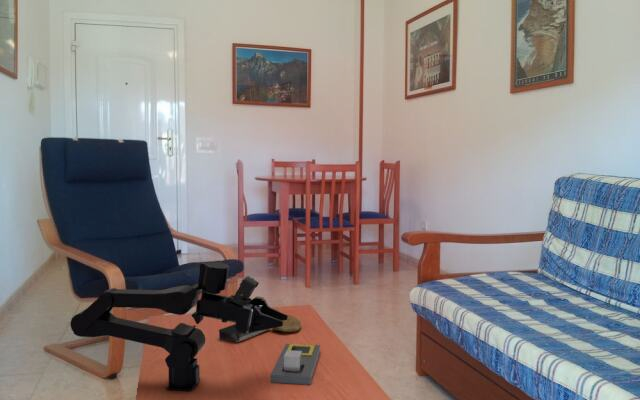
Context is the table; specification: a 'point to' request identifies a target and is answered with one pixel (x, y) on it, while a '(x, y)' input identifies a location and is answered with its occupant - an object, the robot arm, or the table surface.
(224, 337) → the black sponge
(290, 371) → the grey metal block
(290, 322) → the stone
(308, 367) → the grey board with holes
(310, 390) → the table surface
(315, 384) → the table surface
